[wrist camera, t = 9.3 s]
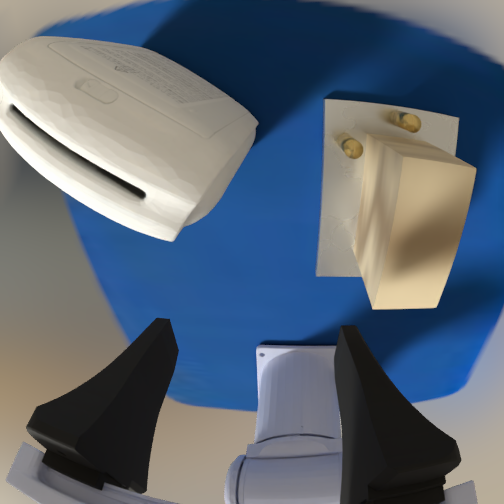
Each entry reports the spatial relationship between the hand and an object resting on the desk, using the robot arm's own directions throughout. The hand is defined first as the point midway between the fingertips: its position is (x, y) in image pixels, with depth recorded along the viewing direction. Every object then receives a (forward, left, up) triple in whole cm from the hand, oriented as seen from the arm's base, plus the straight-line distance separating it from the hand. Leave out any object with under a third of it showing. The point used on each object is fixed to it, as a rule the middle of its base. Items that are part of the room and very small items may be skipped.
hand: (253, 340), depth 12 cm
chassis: (+3, -8, -10) cm, 13 cm away
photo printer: (+9, +5, -10) cm, 14 cm away
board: (+3, -8, -9) cm, 13 cm away
